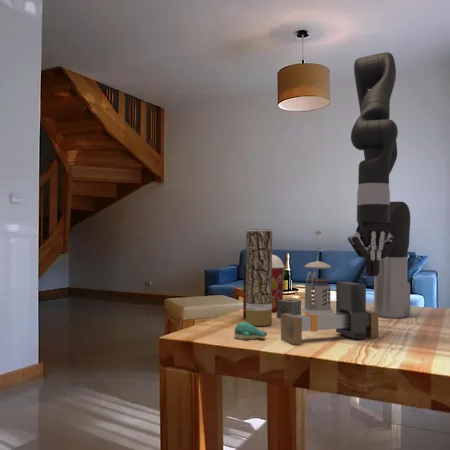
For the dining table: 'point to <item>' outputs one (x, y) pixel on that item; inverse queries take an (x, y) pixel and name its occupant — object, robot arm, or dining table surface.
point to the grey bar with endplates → (322, 324)
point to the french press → (317, 289)
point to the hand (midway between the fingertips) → (372, 276)
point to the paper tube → (259, 277)
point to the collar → (352, 307)
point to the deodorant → (244, 291)
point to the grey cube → (288, 307)
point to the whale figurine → (248, 332)
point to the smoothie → (277, 281)
